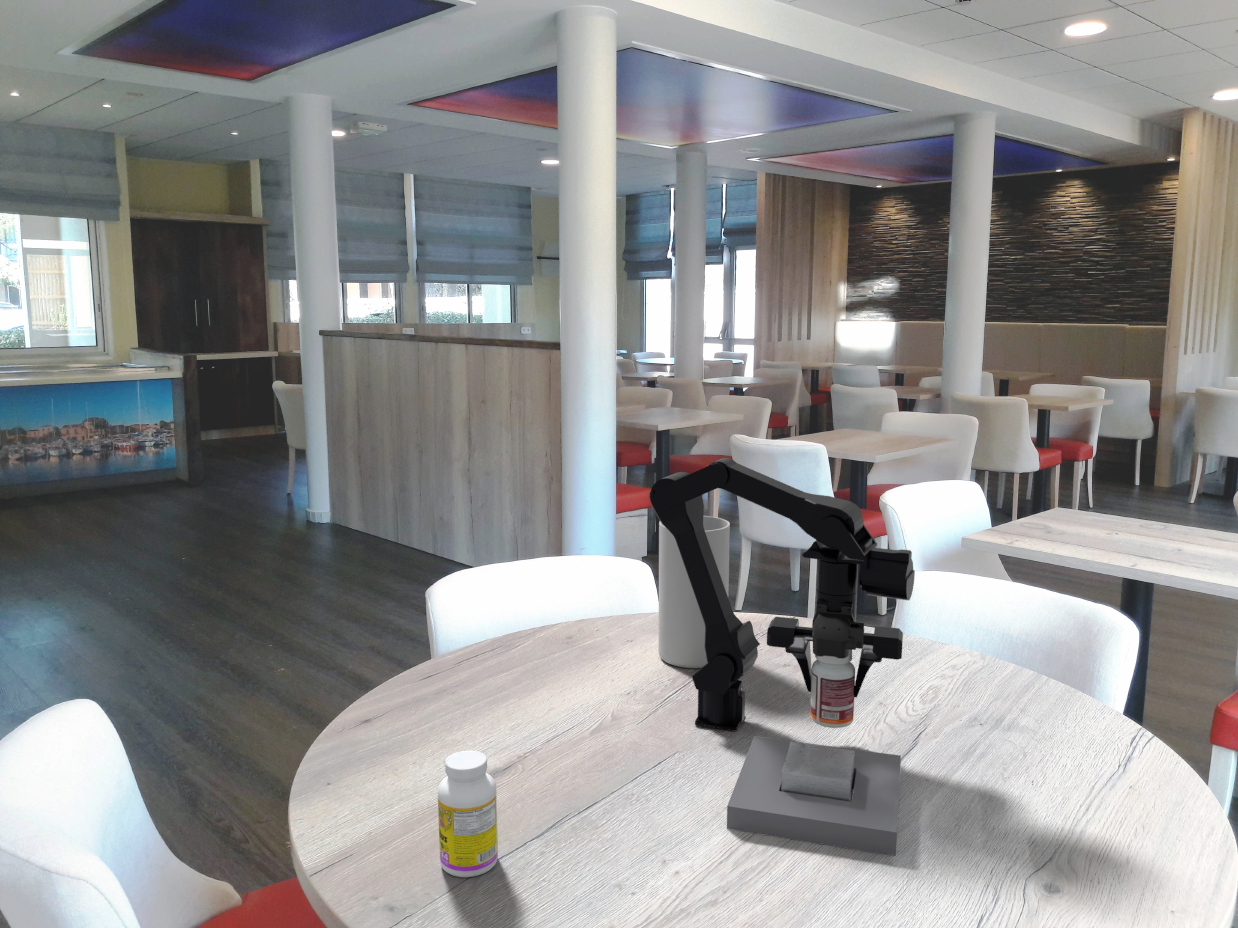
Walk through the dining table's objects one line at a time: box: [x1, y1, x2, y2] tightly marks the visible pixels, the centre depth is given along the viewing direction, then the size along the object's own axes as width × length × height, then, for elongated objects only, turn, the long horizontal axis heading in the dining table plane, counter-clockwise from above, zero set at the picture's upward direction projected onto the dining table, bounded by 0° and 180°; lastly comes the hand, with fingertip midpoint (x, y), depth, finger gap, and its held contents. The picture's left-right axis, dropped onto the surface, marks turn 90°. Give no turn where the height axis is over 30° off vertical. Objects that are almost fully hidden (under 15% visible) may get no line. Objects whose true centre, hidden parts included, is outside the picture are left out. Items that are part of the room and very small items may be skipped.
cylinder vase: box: [657, 515, 731, 669], centre depth 172 cm, size 12×12×25 cm
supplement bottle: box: [437, 750, 499, 878], centre depth 110 cm, size 7×7×13 cm
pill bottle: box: [809, 649, 856, 729], centre depth 139 cm, size 6×6×11 cm
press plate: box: [726, 735, 902, 857], centre depth 124 cm, size 20×20×3 cm
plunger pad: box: [781, 742, 855, 802], centre depth 124 cm, size 8×8×3 cm
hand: (832, 693), depth 139 cm, fingers closed on pill bottle, 6 cm apart
